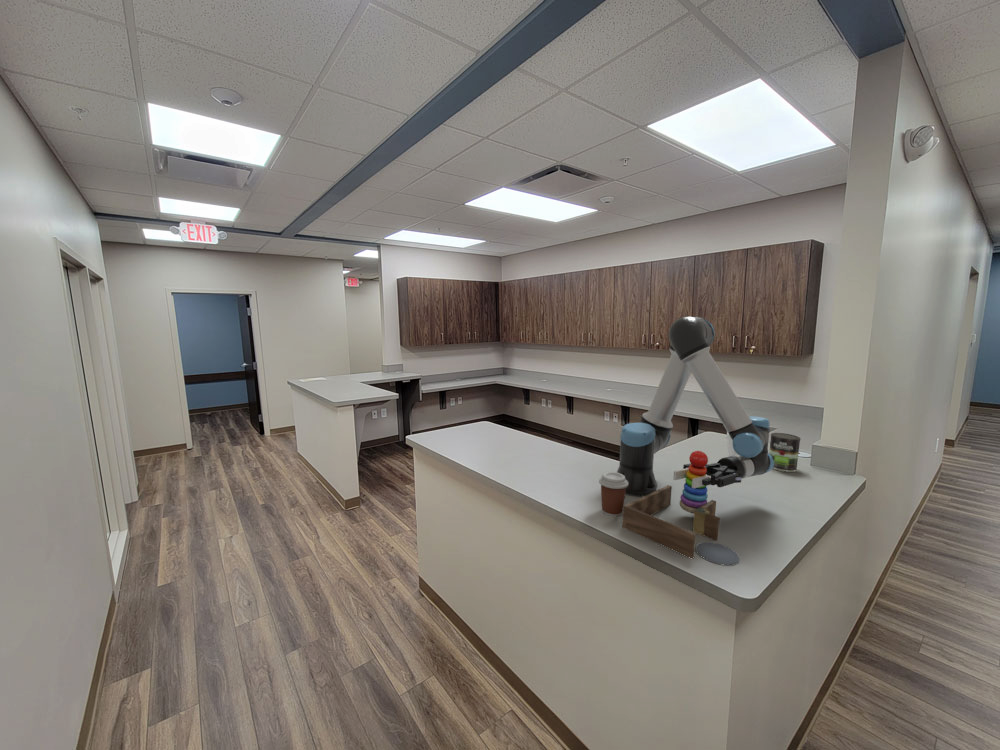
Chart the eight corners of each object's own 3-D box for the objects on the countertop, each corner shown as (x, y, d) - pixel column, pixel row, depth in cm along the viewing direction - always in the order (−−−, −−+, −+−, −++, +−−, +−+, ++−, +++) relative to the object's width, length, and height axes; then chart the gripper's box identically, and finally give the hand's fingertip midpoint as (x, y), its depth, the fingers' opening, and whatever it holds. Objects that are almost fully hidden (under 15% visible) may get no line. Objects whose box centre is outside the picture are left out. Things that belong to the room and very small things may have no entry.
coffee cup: (592, 511, 127) (593, 475, 126) (605, 502, 134) (607, 468, 133) (619, 521, 121) (621, 483, 120) (631, 511, 128) (633, 475, 127)
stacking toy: (711, 516, 119) (718, 458, 115) (683, 514, 120) (689, 456, 116) (702, 502, 127) (708, 447, 123) (676, 501, 128) (681, 446, 124)
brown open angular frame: (691, 559, 102) (693, 535, 101) (622, 526, 118) (623, 505, 117) (733, 528, 118) (735, 507, 117) (667, 503, 134) (668, 485, 133)
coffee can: (795, 474, 163) (798, 440, 161) (765, 467, 170) (768, 435, 168) (798, 467, 170) (802, 435, 168) (769, 462, 177) (773, 431, 175)
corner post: (703, 535, 114) (705, 514, 113) (692, 531, 116) (694, 510, 115) (708, 532, 115) (709, 511, 115) (697, 528, 118) (699, 507, 117)
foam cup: (754, 466, 171) (756, 437, 169) (732, 466, 171) (735, 437, 169) (741, 459, 180) (743, 431, 179) (720, 459, 180) (722, 431, 179)
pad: (700, 561, 101) (700, 559, 101) (692, 541, 111) (692, 539, 111) (744, 568, 98) (744, 566, 98) (732, 547, 108) (733, 545, 108)
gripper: (763, 490, 121) (710, 504, 111) (707, 469, 138) (658, 480, 128) (765, 466, 120) (712, 478, 110) (709, 448, 137) (659, 457, 127)
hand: (683, 479), depth 119 cm, fingers closed on stacking toy, 6 cm apart
